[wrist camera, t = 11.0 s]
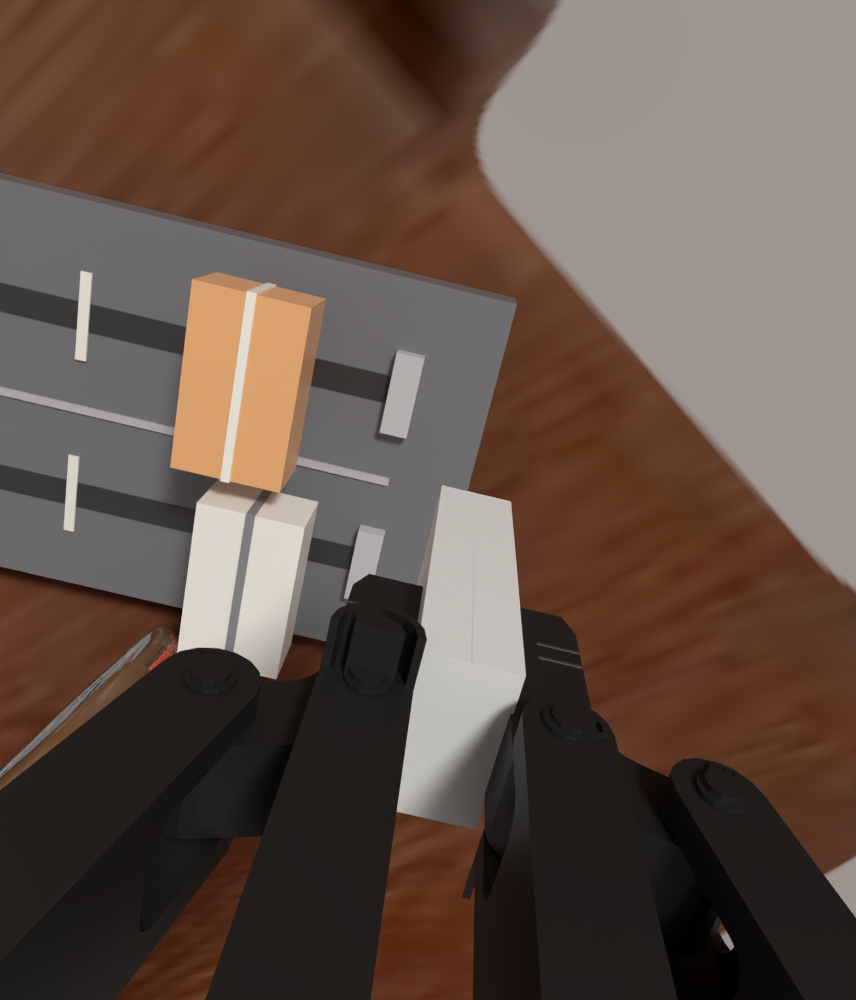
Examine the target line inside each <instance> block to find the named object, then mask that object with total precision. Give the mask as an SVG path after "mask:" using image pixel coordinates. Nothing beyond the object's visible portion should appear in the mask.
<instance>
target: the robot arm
mask: <svg viewBox="0 0 856 1000" xmlns="http://www.w3.org/2000/svg"><path fill="white" fill-rule="evenodd" d="M581 668H582V663H581V658H580V655H579V649H578V644H577V639H576V634H575V633H574V632H573V631H572V630H571V628H570V627H569V626H568V625H567V624H566V622H565V621H564V620H563V619H562V617H559V616H555V615H550V614H546V613H542V612H538V611H533V610H529V609H525V608H521V607H520V601H519V590H518V578H517V567H516V555H515V544H514V532H513V521H512V509H511V501H506V500H502V499H498V498H494V497H490V496H485V495H481V494H477V493H473V492H469V491H465V490H460V489H456V488H452V487H448V486H444V485H442V487H441V491H440V495H439V499H438V503H437V507H436V511H435V515H434V519H433V523H432V527H431V531H430V535H429V539H428V542H427V546H426V550H425V554H424V558H423V562H422V566H421V570H420V574H419V578H418V582H417V585H415V584H410V583H406V582H402V581H398V580H393V579H389V578H385V577H381V576H377V575H372V574H368V575H366V576H365V577H363V578H362V579H360V580H359V581H357V582H356V583H354V584H353V586H352V589H351V592H350V595H349V598H348V601H347V604H346V606H343V607H341V608H338V609H337V610H336V611H335V613H334V614H333V615H332V616H331V618H330V623H329V628H328V633H327V638H326V642H325V647H324V652H323V657H322V661H321V666H320V670H319V671H318V672H317V673H315V674H313V675H311V676H309V677H307V678H304V679H300V680H295V681H288V682H261V678H260V672H259V670H258V669H257V668H256V667H255V666H254V664H253V663H252V662H251V661H250V660H248V659H246V658H244V657H243V656H241V655H239V654H237V653H235V652H231V651H227V650H223V649H219V648H193V649H188V650H183V651H179V652H178V653H176V654H174V655H172V656H170V657H168V658H166V659H165V660H163V661H162V662H161V663H160V664H158V665H157V666H156V667H155V668H153V669H152V670H151V671H149V672H148V673H147V674H146V675H144V676H143V677H142V678H141V679H139V680H138V681H137V682H136V683H134V684H133V685H132V686H131V687H129V688H128V689H127V690H126V691H124V692H123V693H122V694H120V695H119V696H118V697H117V698H115V699H114V700H113V701H112V702H110V703H109V704H108V705H107V706H105V707H104V708H103V709H102V710H100V711H99V712H98V713H97V714H95V715H94V716H93V717H91V718H90V719H89V720H88V721H86V722H85V723H84V724H83V725H81V726H80V727H79V728H78V729H76V730H75V731H74V732H73V733H71V734H70V735H69V736H68V737H66V738H65V739H64V740H62V741H61V742H60V743H59V744H57V745H56V746H55V747H54V748H52V749H51V750H50V751H49V752H47V753H46V754H45V755H44V756H42V757H41V758H40V759H39V760H37V761H36V762H35V763H33V764H32V765H31V766H30V767H28V768H27V769H26V770H25V771H23V772H22V773H21V774H20V775H18V776H17V777H16V778H15V779H13V780H12V781H11V782H10V783H8V784H7V785H6V786H4V787H3V788H2V789H1V790H0V1000H115V999H116V998H117V996H118V995H119V994H120V992H121V991H122V990H123V988H124V987H125V986H126V984H127V983H128V982H129V980H130V979H131V978H132V976H133V975H134V974H135V973H136V971H137V970H138V969H139V967H140V966H141V965H142V963H143V962H144V961H145V959H146V958H147V957H148V955H149V954H150V953H151V951H152V950H153V949H154V947H155V946H156V945H157V943H158V942H159V941H160V939H161V938H162V937H163V935H164V934H165V933H166V932H167V930H168V929H169V928H170V926H171V925H172V924H173V922H174V921H175V920H176V918H177V917H178V916H179V914H180V913H181V912H182V910H183V909H184V908H185V906H186V905H187V904H188V902H189V901H190V900H191V898H192V897H193V896H194V894H195V893H196V892H197V891H198V889H199V888H200V887H201V885H202V884H203V883H204V881H205V880H206V879H207V877H208V876H209V875H210V873H211V872H212V871H213V869H214V868H215V867H216V865H217V864H218V863H219V861H220V860H221V859H222V857H223V856H224V855H225V853H226V852H227V851H228V849H229V847H230V844H231V842H232V840H233V838H234V837H253V836H262V838H261V841H260V843H259V846H258V849H257V852H256V855H255V858H254V861H253V864H252V867H251V869H250V872H249V875H248V878H247V881H246V884H245V887H244V890H243V893H242V896H241V898H240V901H239V904H238V907H237V910H236V913H235V916H234V919H233V922H232V924H231V927H230V930H229V933H228V936H227V939H226V942H225V945H224V948H223V950H222V953H221V956H220V959H219V962H218V965H217V968H216V971H215V974H214V977H213V979H212V982H211V985H210V988H209V991H208V994H207V997H206V1000H370V999H371V992H372V985H373V978H374V970H375V963H376V956H377V949H378V942H379V935H380V927H381V920H382V913H383V906H384V899H385V892H386V884H387V877H388V870H389V863H390V856H391V849H392V841H393V834H394V827H395V820H396V813H397V812H401V813H405V814H410V815H414V816H418V817H423V818H427V819H431V820H436V821H440V822H444V823H449V824H453V825H457V826H462V827H466V828H470V829H475V830H476V829H477V826H478V823H479V819H480V816H481V813H482V810H483V807H484V804H485V828H484V831H483V834H482V837H481V840H480V843H479V846H478V849H477V852H476V855H475V858H474V861H473V864H472V867H471V870H470V873H469V876H468V879H467V882H466V886H465V889H464V893H463V896H462V897H464V898H468V899H470V897H471V894H472V891H473V888H474V886H475V906H474V963H473V1000H856V918H855V916H854V915H853V913H852V912H851V911H850V910H849V908H848V907H847V905H846V904H845V903H844V901H843V900H842V899H841V898H840V896H839V895H838V893H837V892H836V891H835V889H834V888H833V887H832V885H831V884H830V883H829V881H828V880H827V879H826V877H825V876H824V875H823V873H822V872H821V871H820V869H819V868H818V866H817V865H816V864H815V862H814V861H813V860H812V858H811V857H810V856H809V854H808V853H807V852H806V850H805V849H804V848H803V846H802V845H801V844H800V842H799V841H798V840H797V838H796V837H795V836H794V834H793V833H792V832H791V830H790V829H789V828H788V826H787V825H786V824H785V822H784V821H783V819H782V818H781V817H780V815H779V814H778V813H777V811H776V810H775V809H774V807H773V806H772V805H771V803H770V802H769V801H768V799H767V798H766V797H765V795H764V794H763V793H762V792H761V791H760V790H759V789H758V788H757V787H756V786H755V785H754V784H753V783H752V782H751V781H749V780H748V779H746V778H745V777H744V776H742V775H741V774H739V773H738V772H737V771H735V770H734V769H732V768H730V767H728V766H724V765H723V764H720V763H717V762H714V761H709V760H705V759H700V758H692V759H683V760H681V761H680V762H678V763H677V764H675V765H674V766H673V768H672V770H671V773H670V775H669V777H667V776H665V775H663V774H660V773H658V772H656V771H654V770H651V769H649V768H647V767H645V766H643V765H640V764H638V763H637V762H635V761H633V760H631V759H629V758H627V757H625V756H624V755H623V754H621V753H620V752H618V747H617V743H616V739H615V736H614V734H613V732H612V730H611V728H610V726H609V724H608V723H607V722H606V721H605V720H604V719H603V718H602V717H601V716H600V715H599V714H598V713H596V712H595V711H593V710H591V706H590V701H589V696H588V692H587V687H586V682H585V677H584V673H583V669H581ZM721 923H722V924H723V926H724V927H725V929H726V931H727V933H728V935H729V936H730V938H731V940H732V942H733V945H734V948H733V949H732V950H731V951H730V949H729V948H728V947H727V945H726V944H725V943H724V941H723V939H722V937H721V935H720V933H719V932H718V929H719V927H720V925H721Z"/></svg>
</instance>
